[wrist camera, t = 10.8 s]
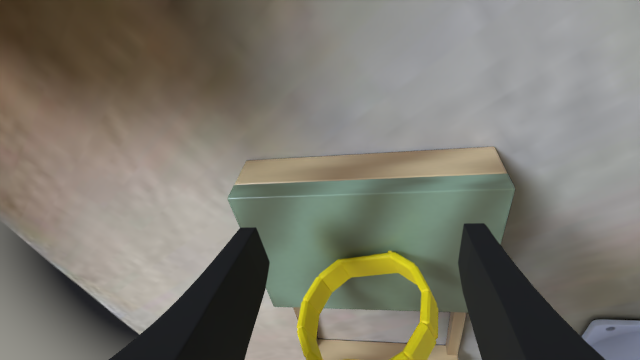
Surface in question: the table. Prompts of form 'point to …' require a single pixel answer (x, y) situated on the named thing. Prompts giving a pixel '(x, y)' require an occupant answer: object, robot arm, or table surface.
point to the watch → (344, 269)
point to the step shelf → (373, 228)
